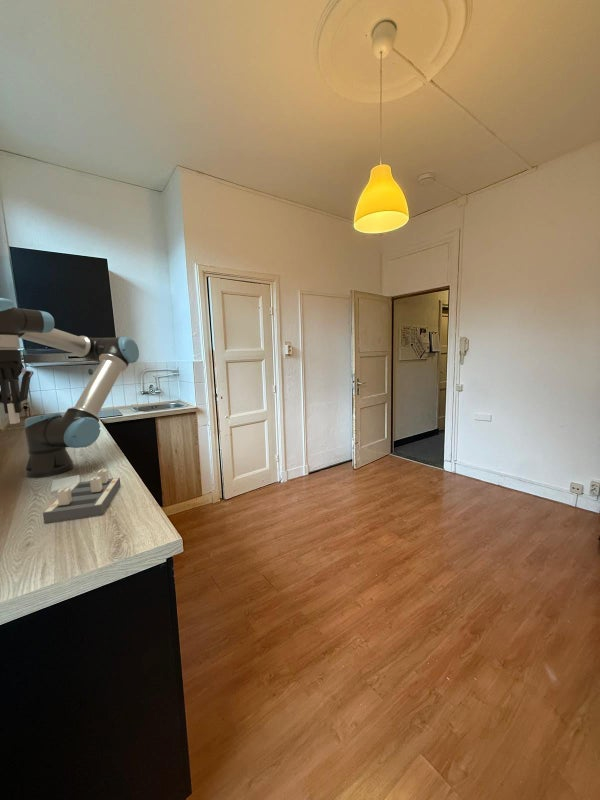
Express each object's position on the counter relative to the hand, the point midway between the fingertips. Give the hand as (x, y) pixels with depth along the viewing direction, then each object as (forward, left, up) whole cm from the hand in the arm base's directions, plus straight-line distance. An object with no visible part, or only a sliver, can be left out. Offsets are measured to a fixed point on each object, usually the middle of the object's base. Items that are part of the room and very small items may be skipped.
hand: (15, 422), depth 102 cm
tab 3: (+7, +25, -21) cm, 33 cm away
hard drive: (-4, +10, -25) cm, 28 cm away
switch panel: (+14, +22, -24) cm, 36 cm away
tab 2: (+14, +25, -21) cm, 36 cm away
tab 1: (+21, +19, -21) cm, 35 cm away
